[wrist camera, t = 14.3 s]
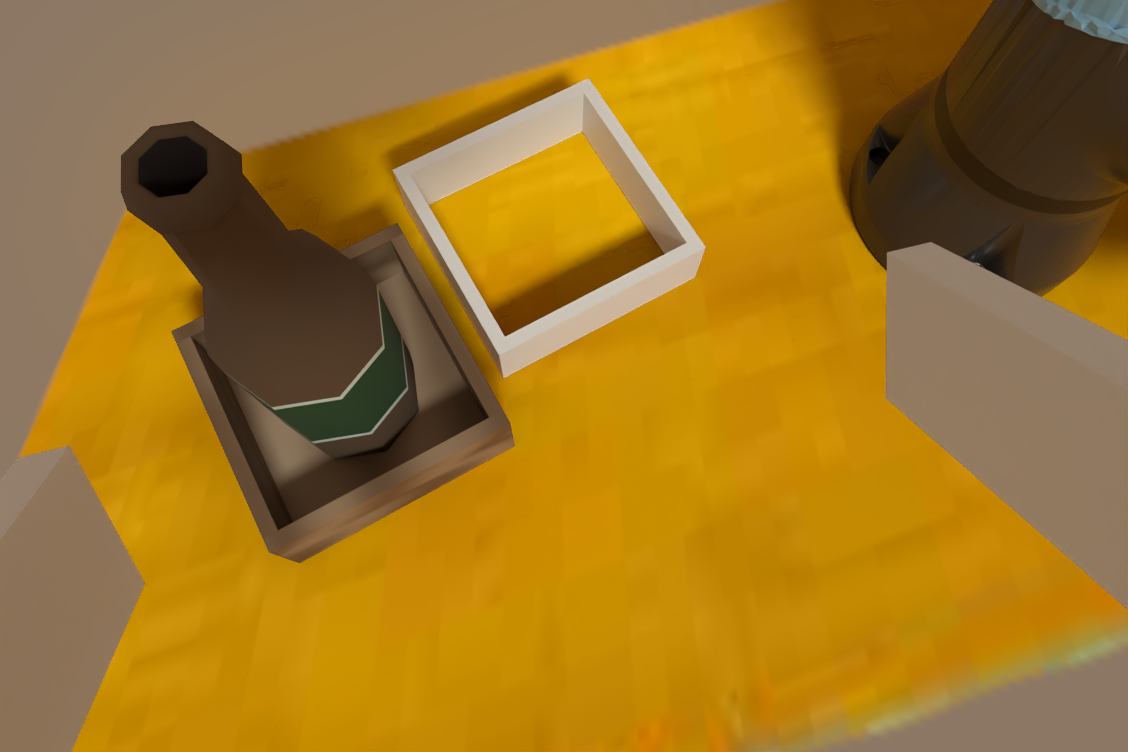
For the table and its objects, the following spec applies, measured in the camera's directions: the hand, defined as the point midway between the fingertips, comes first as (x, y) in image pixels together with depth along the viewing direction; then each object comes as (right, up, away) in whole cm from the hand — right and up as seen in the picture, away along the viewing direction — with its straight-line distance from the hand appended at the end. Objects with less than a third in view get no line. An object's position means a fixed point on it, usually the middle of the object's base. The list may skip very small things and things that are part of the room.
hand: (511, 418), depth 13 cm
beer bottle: (-11, -1, +34) cm, 36 cm away
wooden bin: (-11, -1, +35) cm, 37 cm away
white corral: (0, +9, +38) cm, 40 cm away
